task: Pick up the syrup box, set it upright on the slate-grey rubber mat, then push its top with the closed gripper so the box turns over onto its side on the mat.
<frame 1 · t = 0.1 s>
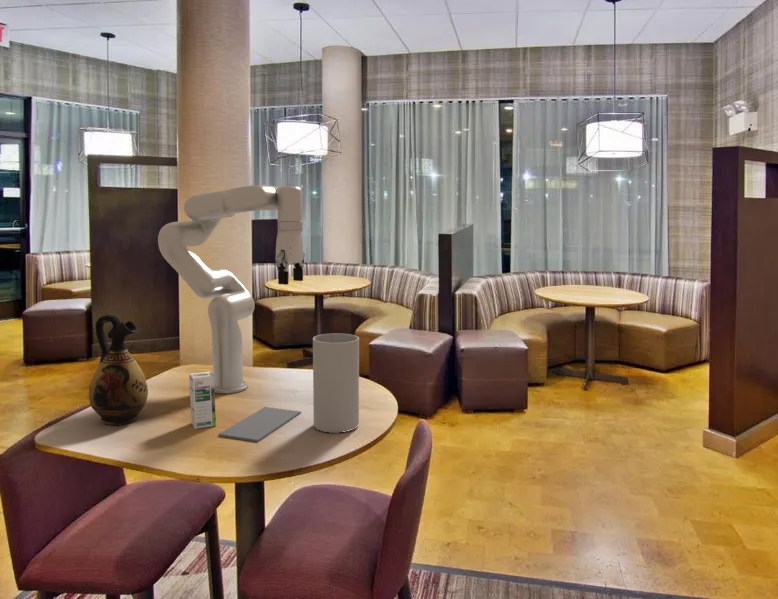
hand: (290, 282, 196), 37 cm above the table, tool pointing down, fingers open, 9 cm apart
syrup box: (203, 425, 176), on the table
ceramic jug: (118, 420, 179), on the table
cylinder vase: (336, 426, 175), on the table
slate mat: (261, 424, 176), on the table
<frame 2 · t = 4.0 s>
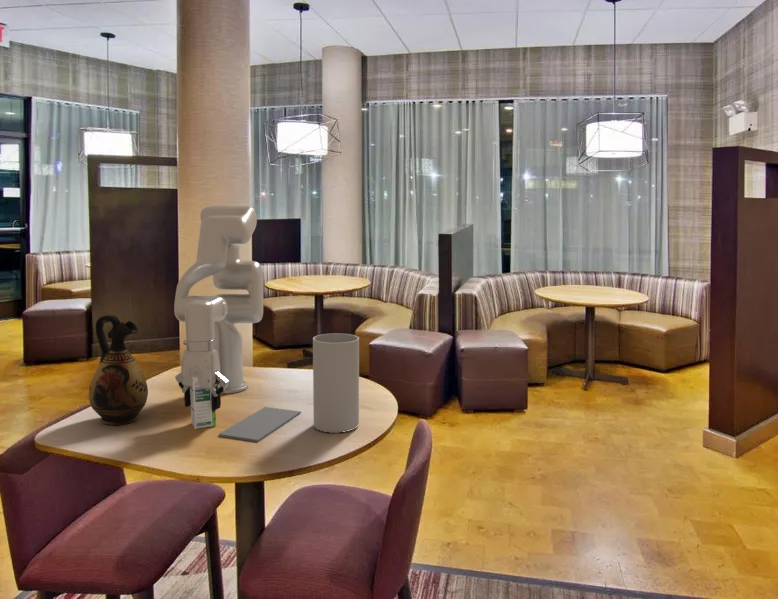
hand: (202, 407, 175), 5 cm above the table, tool pointing down, fingers closed on syrup box, 8 cm apart
syrup box: (203, 425, 176), on the table, touching gripper
everything else where it was.
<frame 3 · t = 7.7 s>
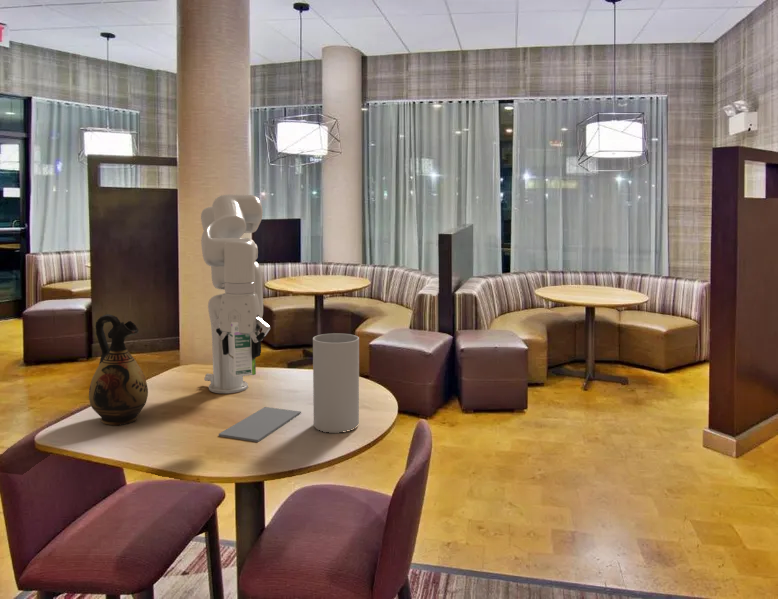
hand: (241, 354, 165), 22 cm above the table, tool pointing down, fingers closed on syrup box, 8 cm apart
syrup box: (242, 374, 166), point 17 cm above the table, touching gripper
everything else where it was.
when the fingers open (6 cm above the table, at t = 11.2 s): syrup box stays where it is, resting on slate mat.
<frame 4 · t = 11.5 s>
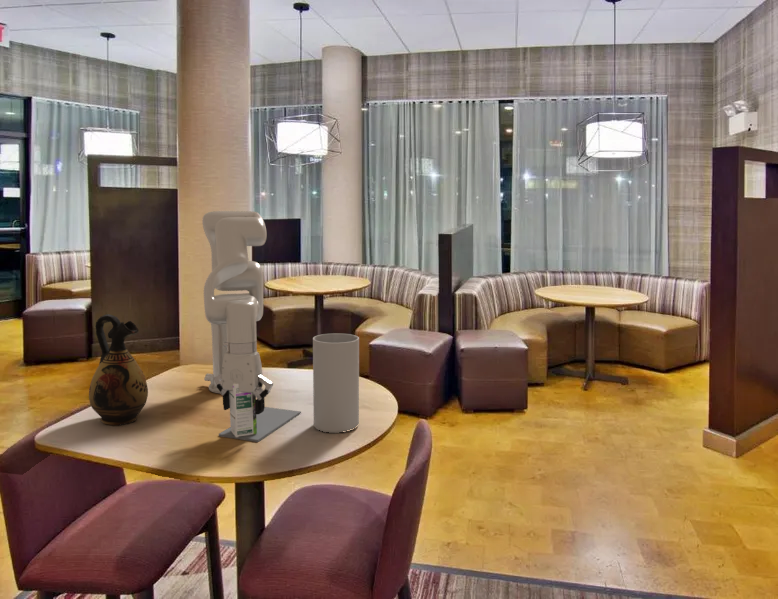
hand: (243, 410, 167), 7 cm above the table, tool pointing down, fingers open, 9 cm apart
syrup box: (243, 433, 168), resting on slate mat
everything else where it was.
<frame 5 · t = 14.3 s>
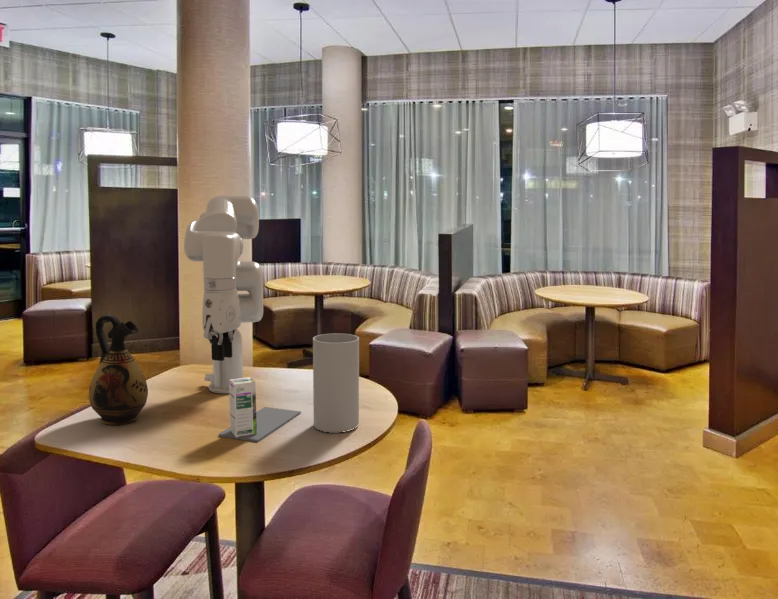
hand: (222, 357, 156), 23 cm above the table, tool pointing down, fingers closed
nothing on the table moved.
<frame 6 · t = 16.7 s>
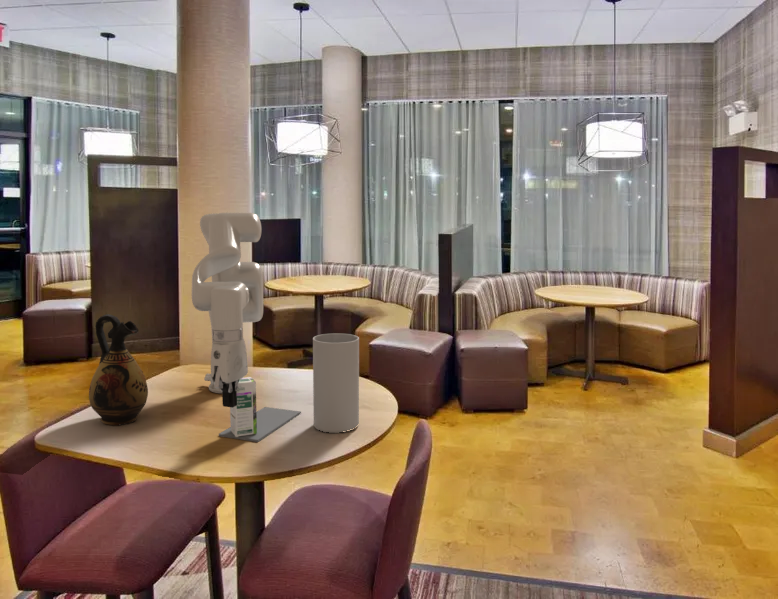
hand: (229, 405, 160), 10 cm above the table, tool pointing down, fingers closed
syrup box: (243, 433, 168), resting on slate mat, touching gripper
everything else where it was.
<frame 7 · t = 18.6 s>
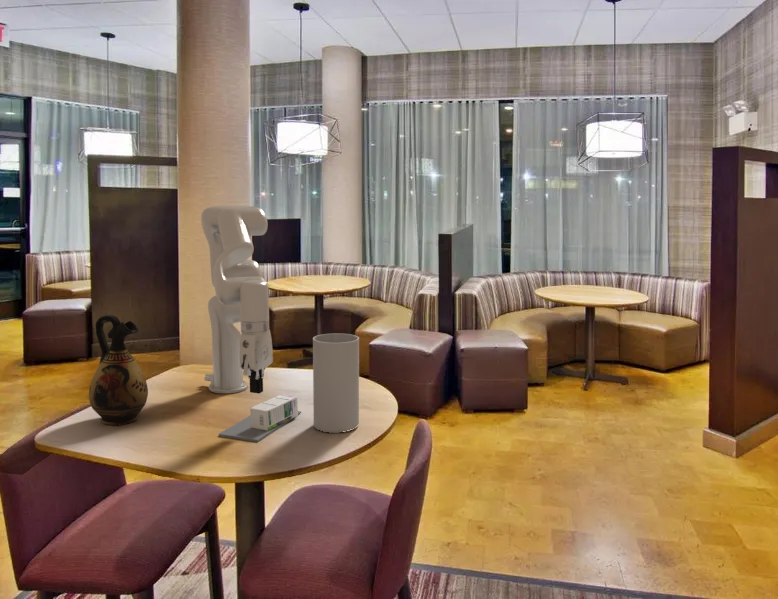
hand: (256, 392, 173), 10 cm above the table, tool pointing down, fingers closed
syrup box: (257, 419, 170), point 3 cm above the table, touching slate mat
everything else where it was.
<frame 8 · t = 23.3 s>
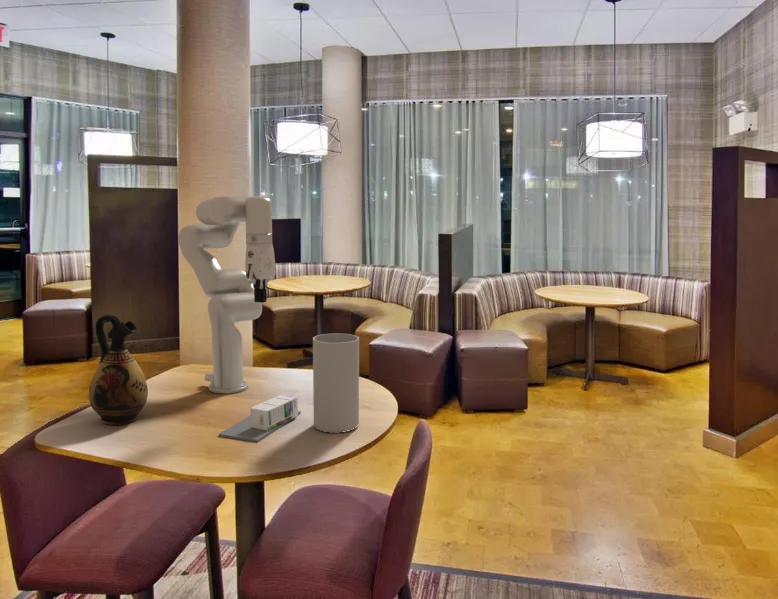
hand: (260, 301, 187), 32 cm above the table, tool pointing down, fingers closed
nothing on the table moved.
at the end: syrup box tilted 90°; syrup box inside the target area on the slate mat (6.0 cm from its centre), point 3.5 cm above the slate mat's base; the gripper is holding nothing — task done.
